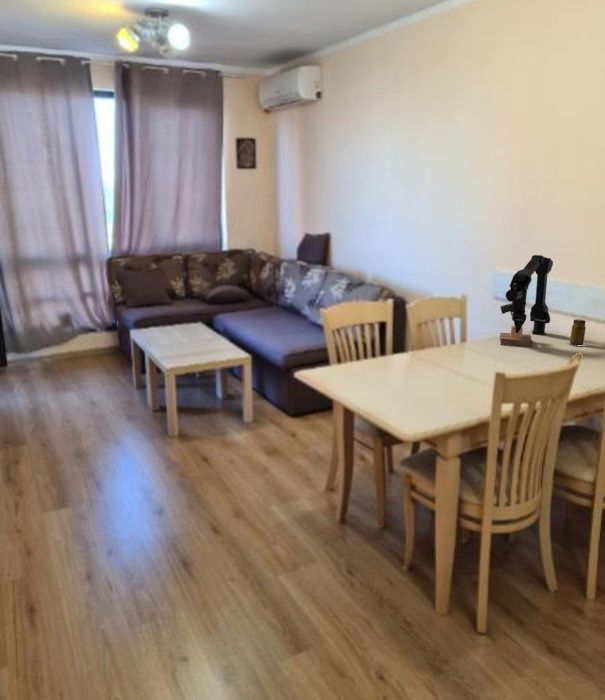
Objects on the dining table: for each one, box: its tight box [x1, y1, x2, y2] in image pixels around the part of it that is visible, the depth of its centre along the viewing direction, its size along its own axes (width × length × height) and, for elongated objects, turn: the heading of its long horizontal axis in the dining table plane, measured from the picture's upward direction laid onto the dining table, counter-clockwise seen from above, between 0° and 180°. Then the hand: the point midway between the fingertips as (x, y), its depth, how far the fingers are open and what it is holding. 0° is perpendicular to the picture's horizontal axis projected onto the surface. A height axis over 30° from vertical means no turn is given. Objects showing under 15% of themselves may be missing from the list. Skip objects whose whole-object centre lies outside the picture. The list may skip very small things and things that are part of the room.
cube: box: [510, 324, 524, 338], centre depth 293 cm, size 5×5×5 cm
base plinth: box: [499, 332, 533, 348], centre depth 294 cm, size 14×14×3 cm
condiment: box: [569, 318, 587, 348], centre depth 290 cm, size 7×8×12 cm
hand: (516, 330), depth 292 cm, fingers open, 9 cm apart
